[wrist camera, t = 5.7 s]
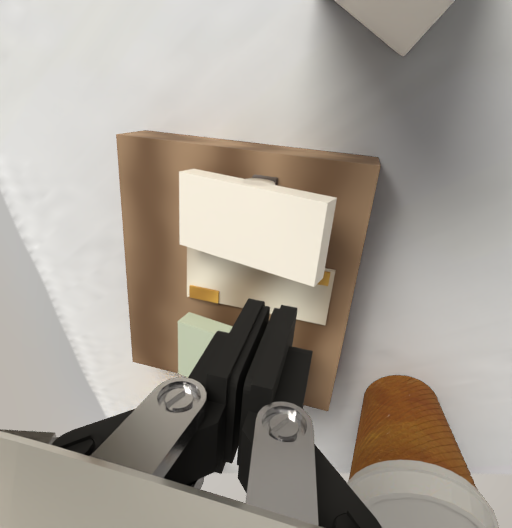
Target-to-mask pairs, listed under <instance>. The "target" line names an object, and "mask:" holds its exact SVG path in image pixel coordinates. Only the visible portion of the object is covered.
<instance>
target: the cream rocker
mask: <svg viewBox="0 0 512 528" xmlns="http://www.w3.org/2000/svg"><path fill="white" fill-rule="evenodd" d="M336 200H337V198H336V197H331V196H326V195H321V194H316V193H311V192H306V191H301V190H297V189H292V188H287V187H282V186H277V185H275V182H273V181H271V180H267V179H260V178H247V179H242V178H238V177H233V176H228V175H223V174H218V173H213V172H208V171H203V170H198V169H189V170H184V171H179V235H180V245H183V246H186V247H189V248H193V249H196V250H199V251H202V252H205V253H208V254H211V255H215V256H218V257H221V258H224V259H227V260H230V261H234V262H237V263H240V264H243V265H246V266H249V267H252V268H256V269H259V270H262V271H265V272H268V273H271V274H275V275H278V276H281V277H284V278H287V279H290V280H293V281H297V282H300V283H303V284H306V285H309V286H312V287H315V286H316V285H317V284H318V283H319V282H320V281H321V280H322V278H323V276H324V270H325V264H326V258H327V253H328V247H329V241H330V235H331V229H332V224H333V218H334V212H335V206H336Z"/></svg>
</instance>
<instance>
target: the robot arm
mask: <svg viewBox="0 0 512 528" xmlns="http://www.w3.org/2000/svg"><path fill="white" fill-rule="evenodd" d="M269 314H270V307H269V306H265V302H264V301H260V300H255V299H250V298H249V299H248V300H247V302H246V304H245V305H244V307H243V309H242V311H241V313H240V314H239V316H238V318H237V320H236V322H235V323H234V325H233V327H232V329H231V330H230V332H229V333H227V332H223V331H217V332H216V333H215V335H214V336H213V338H212V339H211V341H210V343H209V344H208V346H207V348H206V349H205V351H204V352H203V354H202V356H201V357H200V359H199V361H198V362H197V364H196V365H195V367H194V369H193V370H192V372H191V373H190V375H189V377H188V378H186V377H178V378H173V379H169V380H167V381H164V382H162V383H161V384H160V385H158V386H157V387H156V388H155V389H154V390H153V391H152V392H151V393H150V394H149V395H148V396H147V397H146V399H145V400H144V401H143V402H142V403H141V404H140V405H139V406H138V407H137V408H136V409H133V410H131V411H128V412H125V413H122V414H119V415H116V416H113V417H110V418H107V419H104V420H101V421H98V422H95V423H92V424H89V425H86V426H83V427H80V428H78V429H74V430H72V431H70V432H67V433H65V434H63V435H62V436H60V437H56V435H55V433H52V432H35V431H18V430H0V528H382V527H381V525H380V524H379V522H378V521H377V519H376V518H375V516H374V515H373V514H372V513H371V512H370V510H369V509H368V508H367V507H366V506H365V504H364V503H363V502H362V501H361V500H360V498H359V497H358V496H357V495H356V494H355V492H354V491H353V490H352V489H351V488H350V486H349V485H348V484H347V483H346V481H345V480H344V479H343V478H342V477H341V475H340V474H339V473H338V472H337V471H336V469H335V468H334V467H333V466H332V465H331V463H330V462H329V461H328V460H327V459H326V457H325V456H324V455H323V454H322V453H321V451H320V450H319V449H318V448H317V447H316V445H315V444H314V430H313V423H312V420H311V418H310V416H309V415H308V413H307V412H305V411H304V410H303V404H304V398H305V393H306V387H307V382H308V376H309V370H310V365H311V359H312V353H313V351H311V350H306V349H302V348H297V347H292V344H293V337H294V331H295V324H296V317H297V308H296V307H291V306H286V305H281V307H280V309H279V308H274V310H273V312H272V315H271V317H270V319H269ZM237 448H238V457H237V465H239V470H238V479H239V480H240V483H241V484H242V486H243V488H244V490H245V491H246V493H247V496H246V503H243V502H240V501H236V500H233V499H230V498H226V497H223V496H219V495H217V494H213V493H210V492H207V491H203V490H200V489H201V487H202V484H203V481H204V476H206V475H209V474H211V473H213V472H217V473H221V474H222V471H223V468H224V466H225V463H226V462H229V463H232V462H233V460H234V457H235V454H236V451H237Z"/></svg>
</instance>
